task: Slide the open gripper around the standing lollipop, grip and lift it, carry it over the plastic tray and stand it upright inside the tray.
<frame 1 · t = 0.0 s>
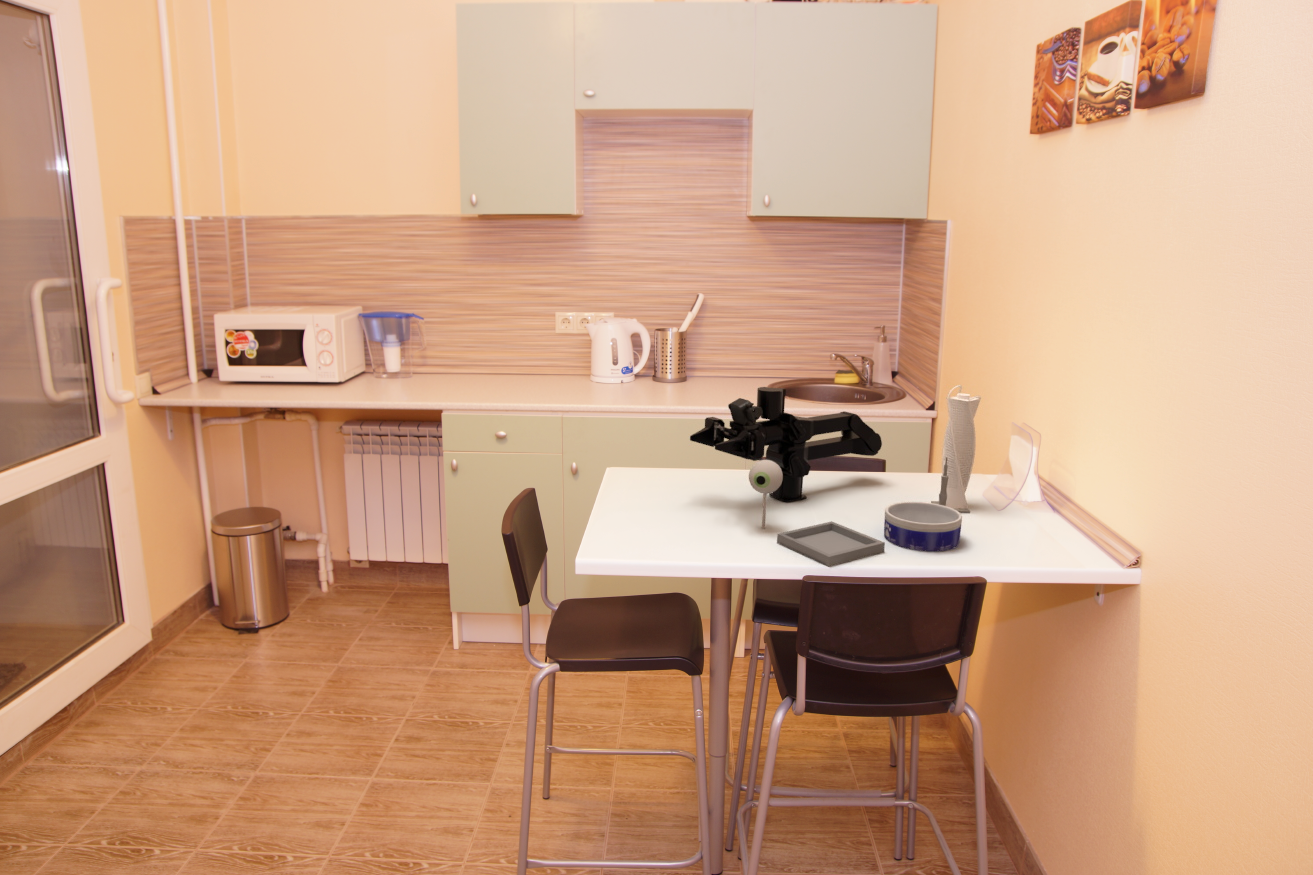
hand: (702, 442, 198), 17 cm above the table, tool horizontal, fingers open, 9 cm apart
skyscraper: (951, 507, 210), on the table
tray: (829, 547, 183), on the table
dog bowl: (920, 540, 189), on the table
lollipop: (763, 529, 194), on the table
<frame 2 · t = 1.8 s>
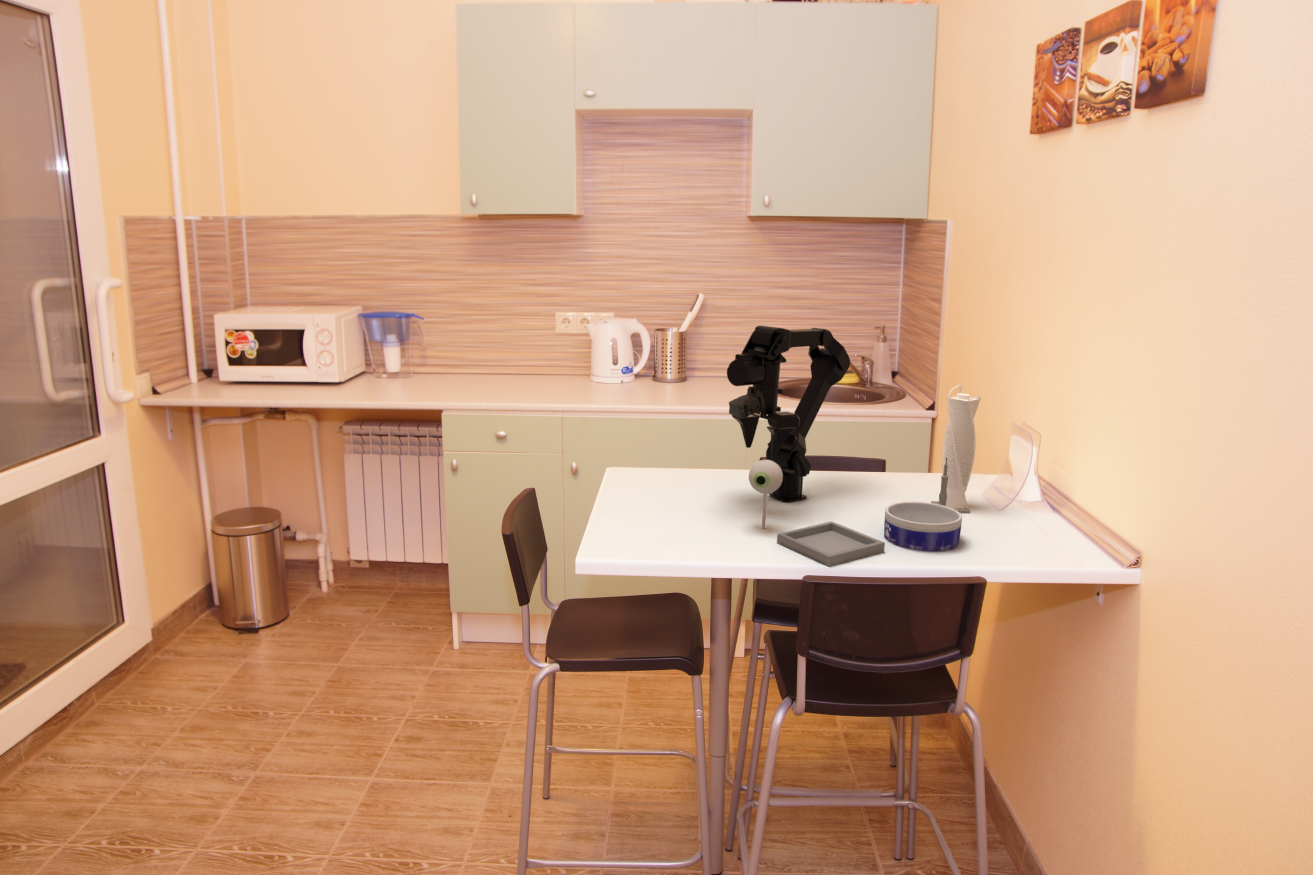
hand: (760, 451, 205), 13 cm above the table, tool pointing down, fingers open, 9 cm apart
nothing on the table moved.
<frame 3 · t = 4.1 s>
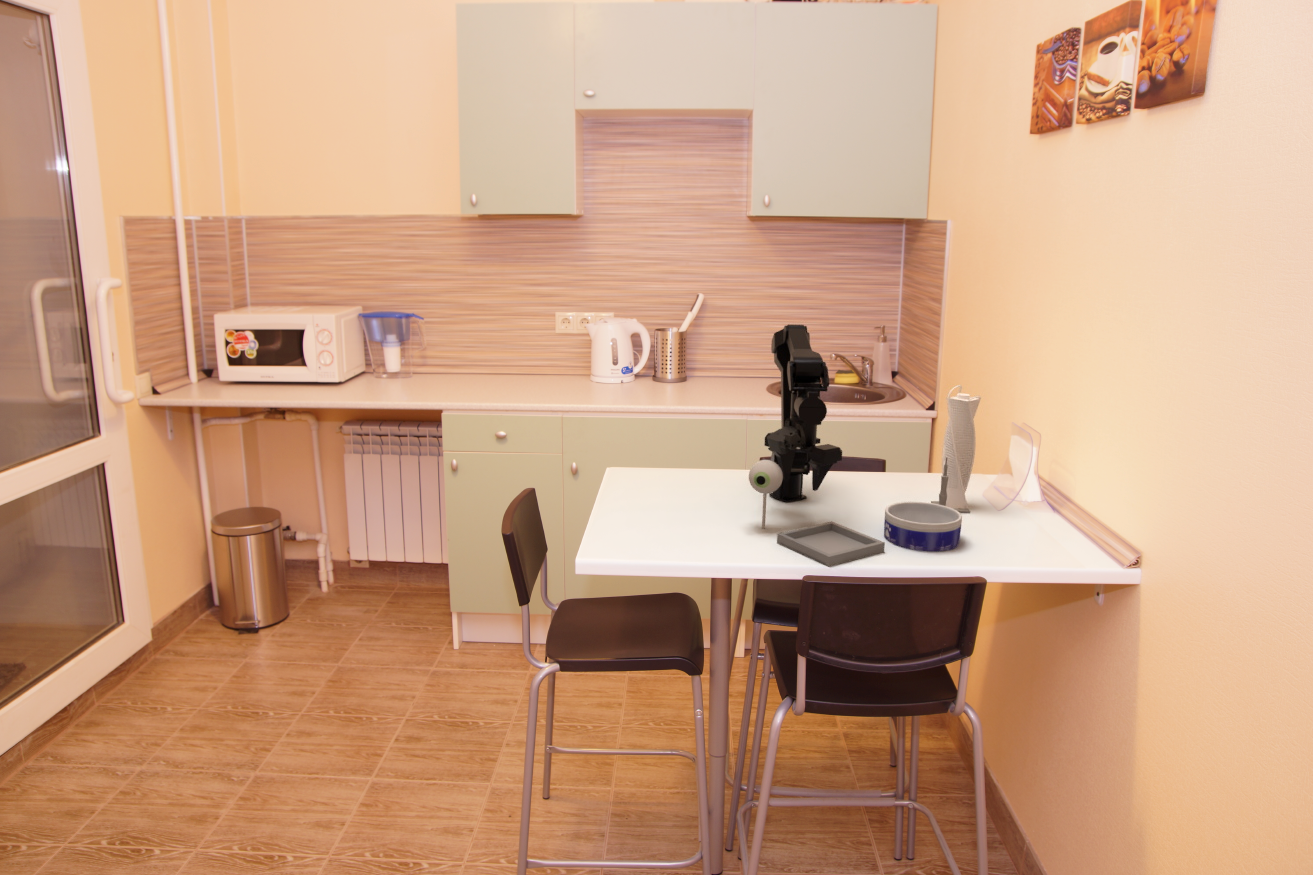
hand: (800, 485, 197), 8 cm above the table, tool pointing down, fingers open, 9 cm apart
nothing on the table moved.
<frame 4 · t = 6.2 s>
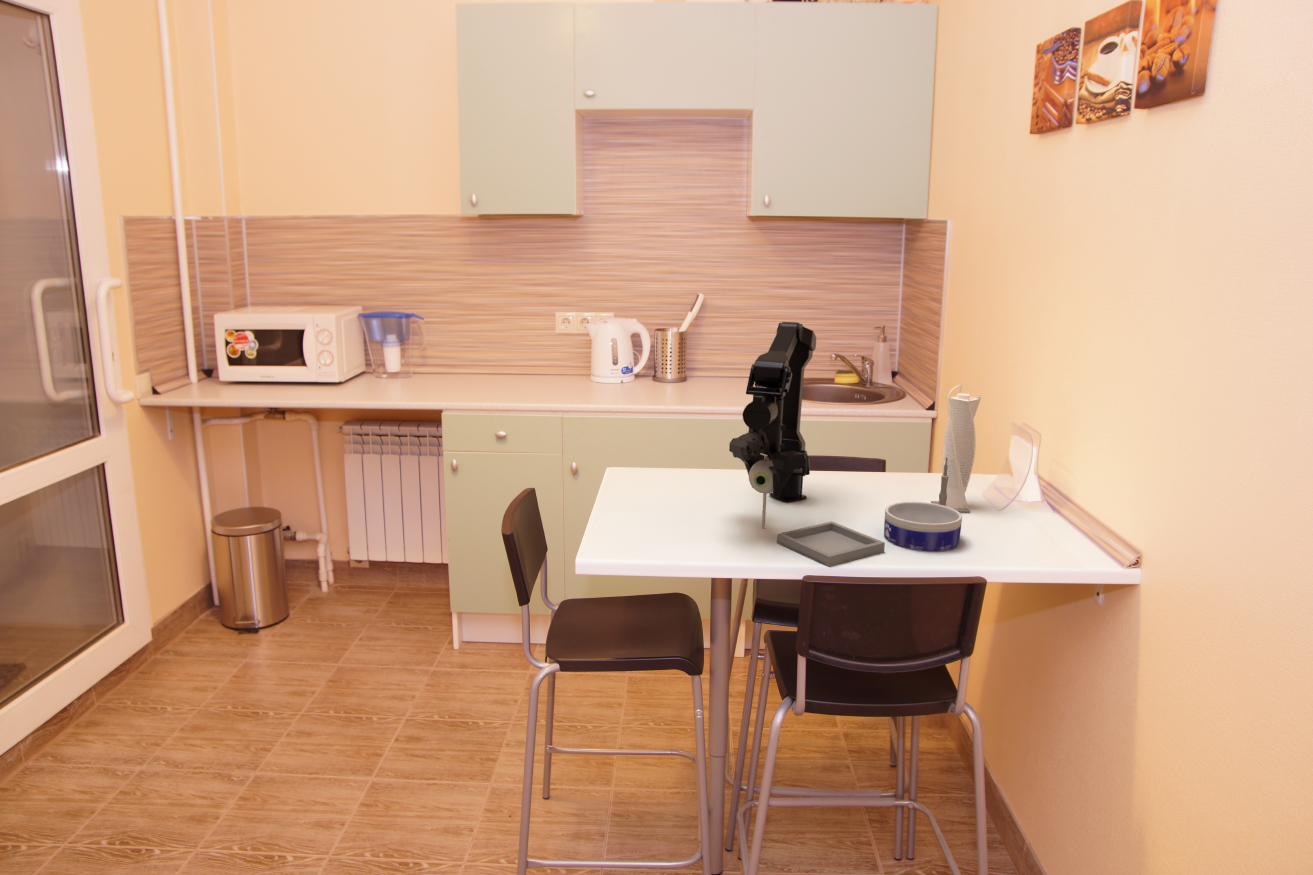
hand: (765, 492, 192), 8 cm above the table, tool pointing down, fingers closed on lollipop, 7 cm apart
lollipop: (763, 529, 194), on the table, touching gripper
everything else where it was.
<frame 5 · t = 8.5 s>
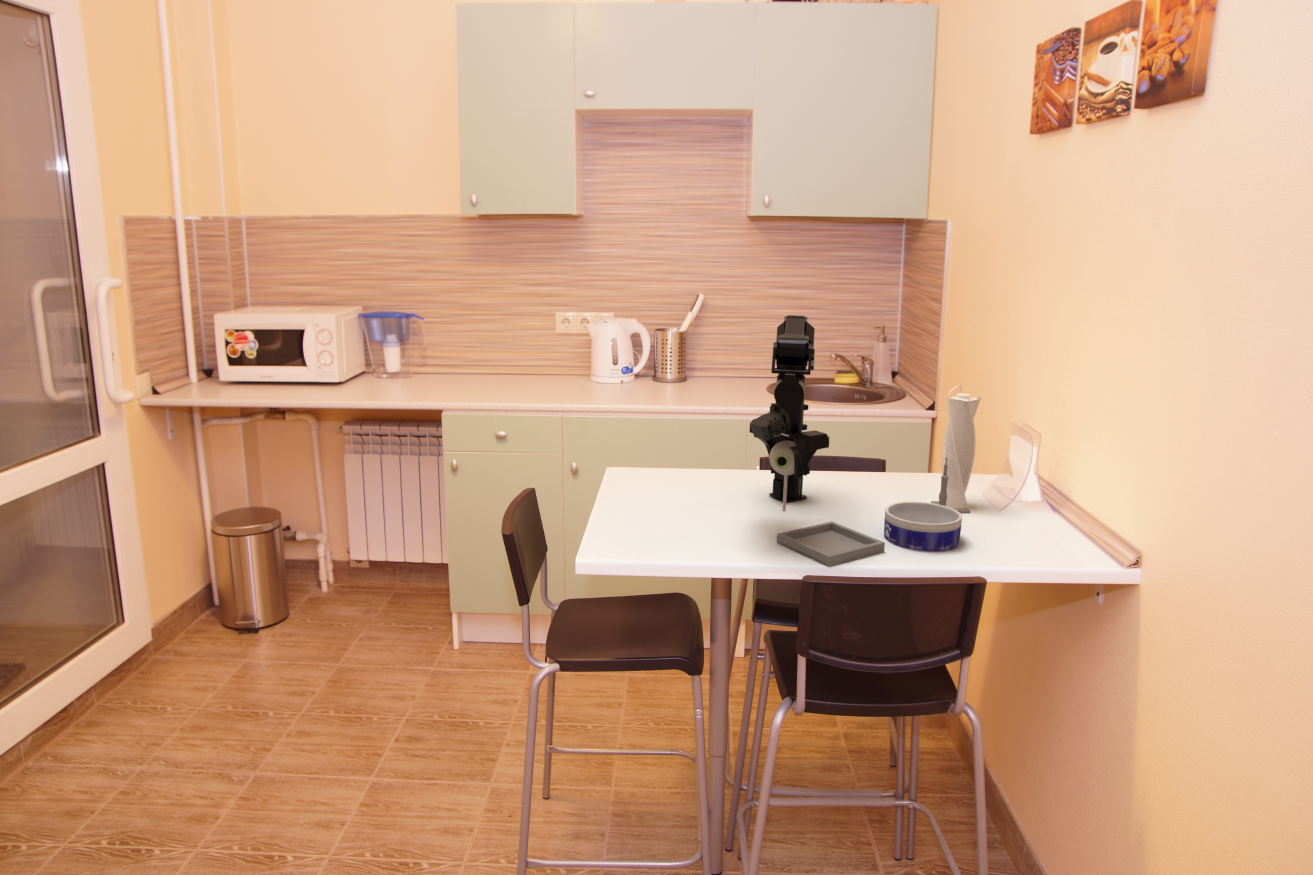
hand: (786, 473, 187), 13 cm above the table, tool pointing down, fingers closed on lollipop, 7 cm apart
lollipop: (784, 511, 189), point 5 cm above the table, touching gripper
everything else where it was.
when the fingers open (9 cm above the table, at t = 10.8 s): lollipop stays where it is, resting on tray.
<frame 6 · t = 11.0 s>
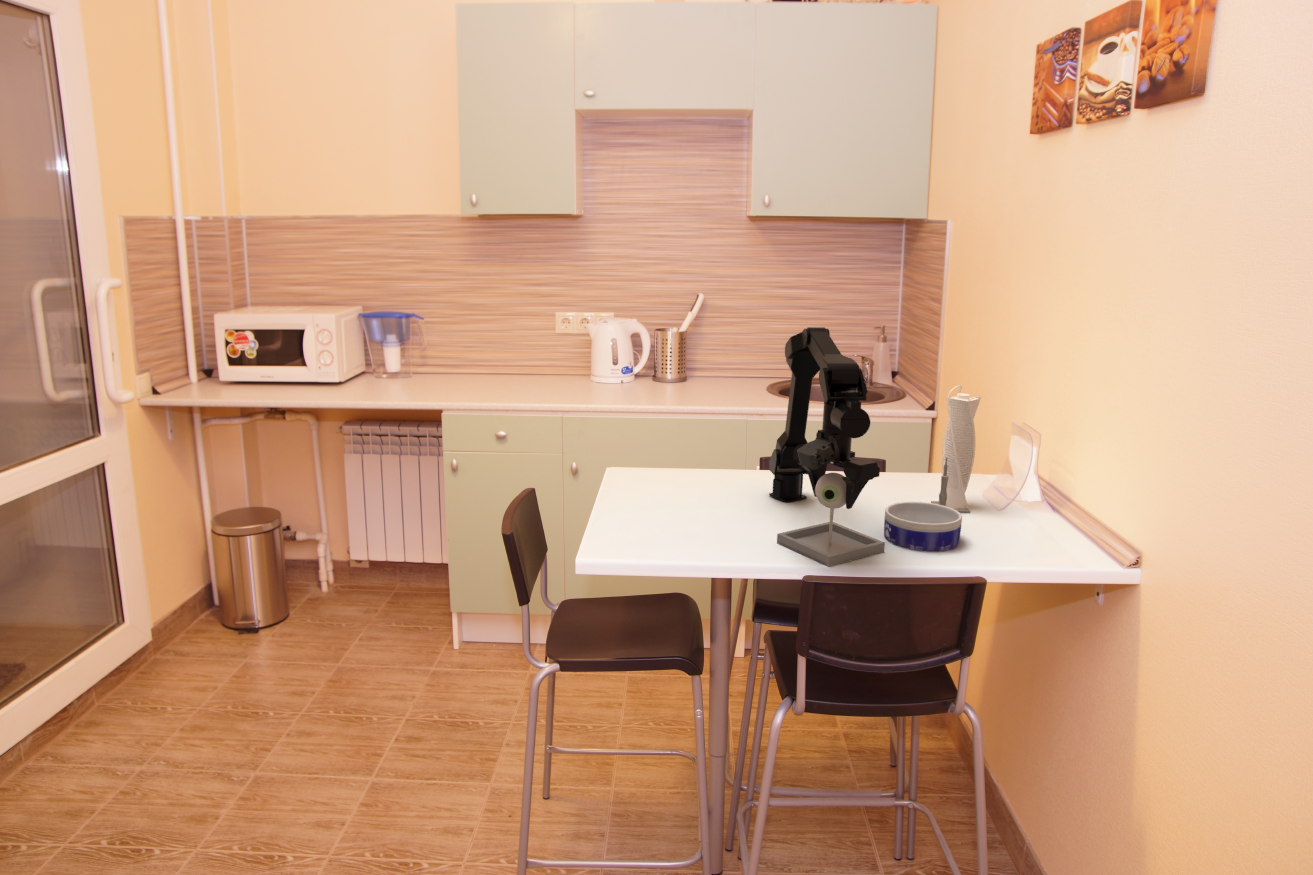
hand: (832, 502, 181), 9 cm above the table, tool pointing down, fingers open, 9 cm apart
lollipop: (829, 545, 183), resting on tray
everything else where it was.
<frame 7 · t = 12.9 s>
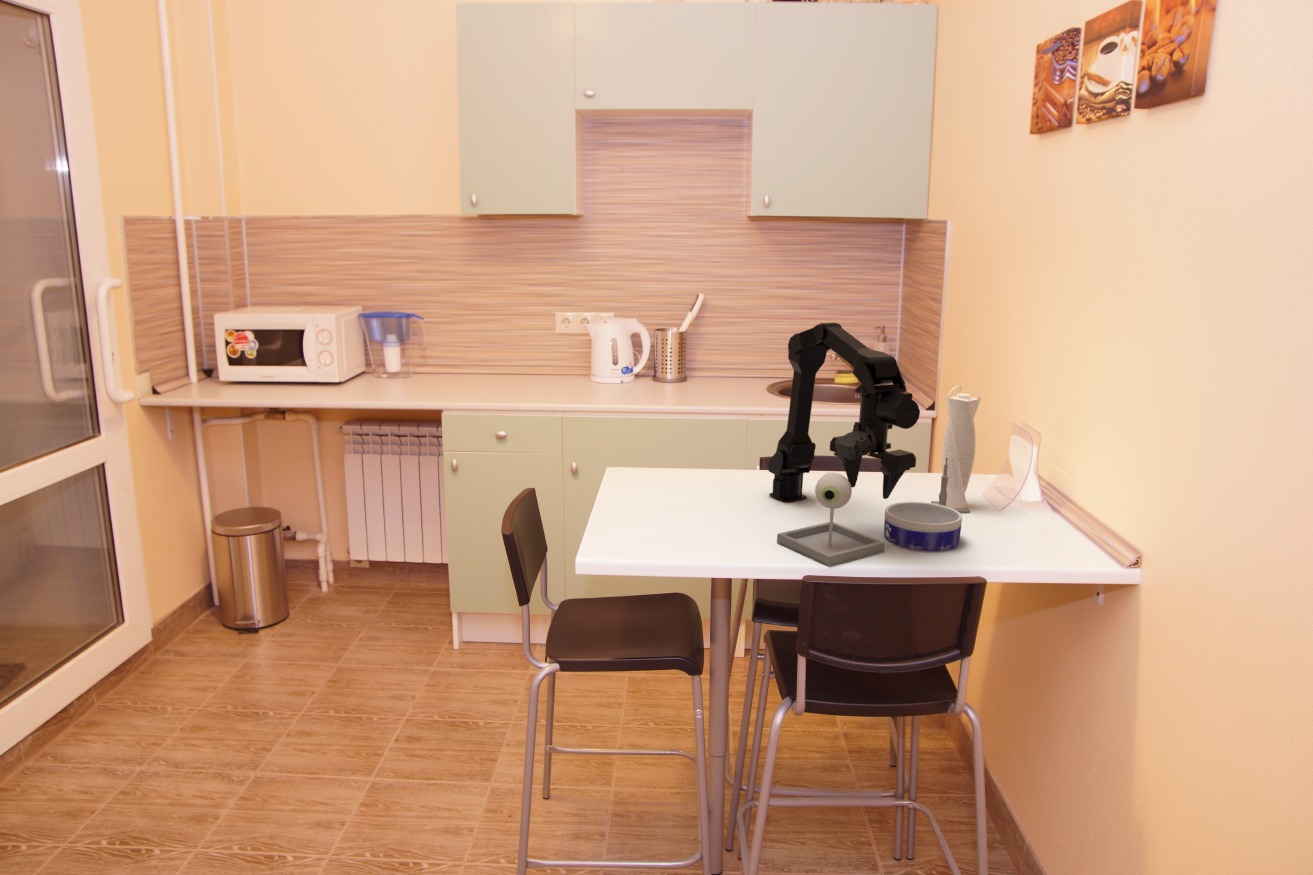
hand: (868, 492, 186), 10 cm above the table, tool pointing down, fingers open, 9 cm apart
nothing on the table moved.
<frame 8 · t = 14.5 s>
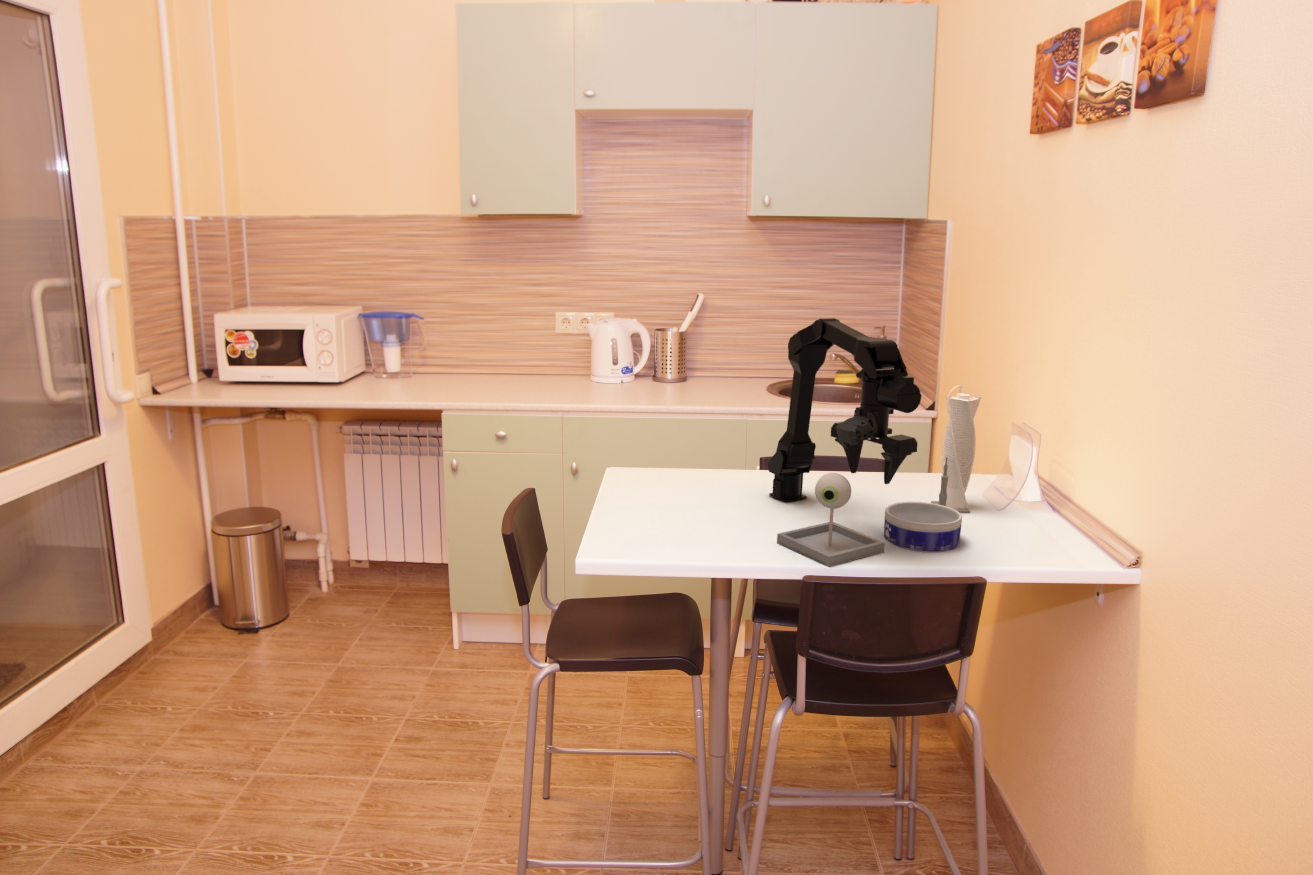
hand: (869, 478, 185), 13 cm above the table, tool pointing down, fingers open, 9 cm apart
nothing on the table moved.
at the end: lollipop inside the target area on the tray (0.1 cm from its centre), point 0.3 cm above the tray's base; lollipop tilted 0°; the gripper is holding nothing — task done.
